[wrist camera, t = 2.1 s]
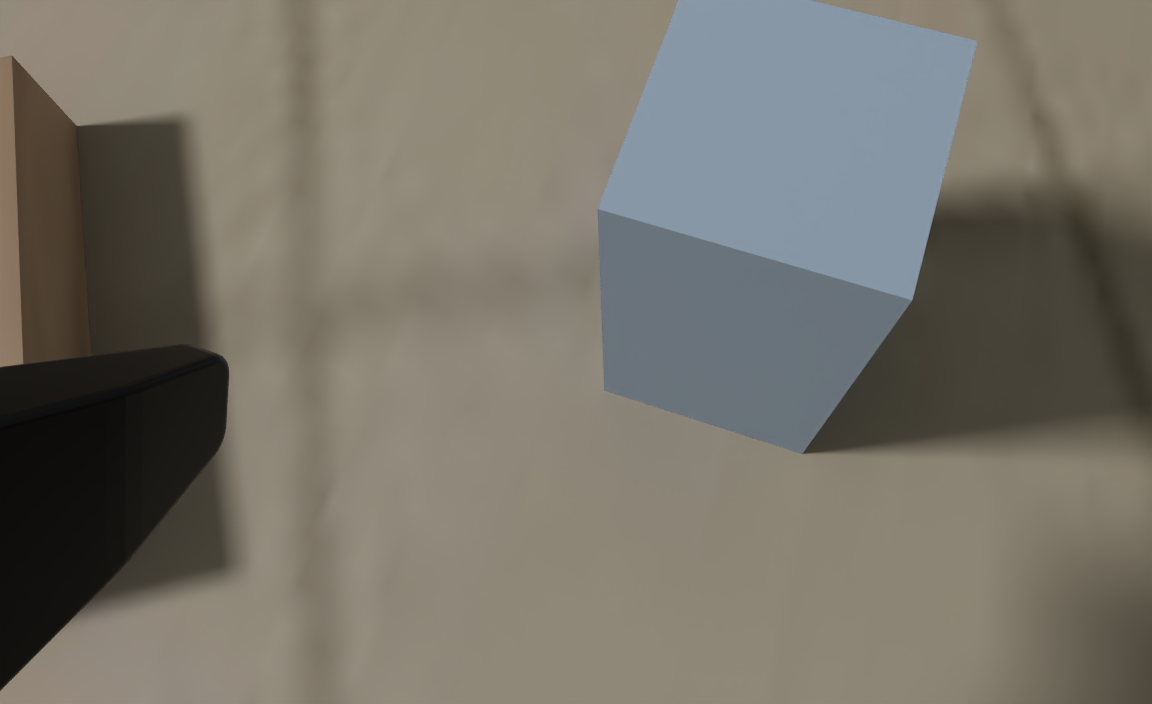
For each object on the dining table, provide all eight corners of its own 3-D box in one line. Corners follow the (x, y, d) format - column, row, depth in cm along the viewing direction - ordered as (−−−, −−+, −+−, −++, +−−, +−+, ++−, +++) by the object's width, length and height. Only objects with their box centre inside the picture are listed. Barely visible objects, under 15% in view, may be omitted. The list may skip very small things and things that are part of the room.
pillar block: (604, 390, 23) (597, 208, 15) (665, 220, 25) (690, -30, 17) (802, 454, 23) (912, 300, 14) (851, 274, 24) (977, 41, 16)
